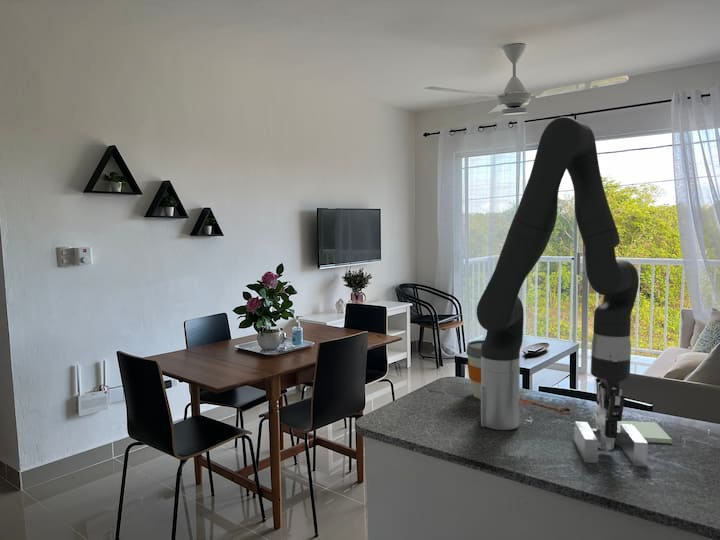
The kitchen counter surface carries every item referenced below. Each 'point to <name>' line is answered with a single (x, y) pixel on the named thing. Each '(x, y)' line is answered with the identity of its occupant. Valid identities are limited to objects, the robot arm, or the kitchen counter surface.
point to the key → (527, 402)
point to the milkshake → (602, 429)
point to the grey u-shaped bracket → (625, 438)
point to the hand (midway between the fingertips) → (607, 432)
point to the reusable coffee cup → (475, 366)
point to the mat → (648, 431)
